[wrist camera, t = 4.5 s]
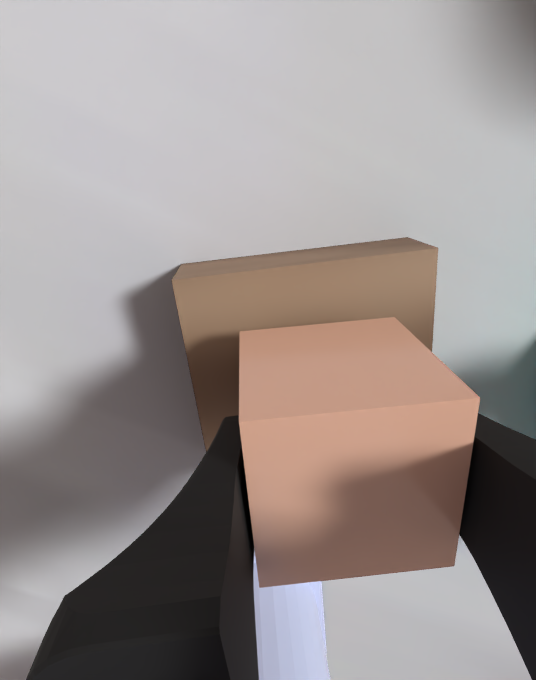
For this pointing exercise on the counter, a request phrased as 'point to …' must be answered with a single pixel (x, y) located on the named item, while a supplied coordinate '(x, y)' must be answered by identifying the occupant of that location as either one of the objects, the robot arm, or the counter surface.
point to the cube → (351, 450)
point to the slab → (294, 305)
